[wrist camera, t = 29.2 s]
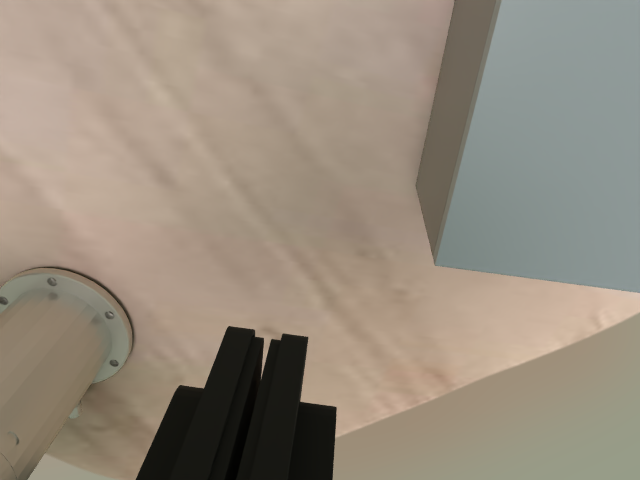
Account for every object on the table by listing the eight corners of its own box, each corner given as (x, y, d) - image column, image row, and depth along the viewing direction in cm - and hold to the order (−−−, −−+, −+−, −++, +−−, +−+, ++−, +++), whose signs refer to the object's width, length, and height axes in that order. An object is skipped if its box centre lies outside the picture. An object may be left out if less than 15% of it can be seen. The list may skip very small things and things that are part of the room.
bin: (586, 208, 39) (660, 286, 29) (415, 185, 39) (432, 256, 30) (678, -29, 32) (817, -29, 22) (466, -56, 32) (512, -67, 22)
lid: (660, 287, 29) (669, 296, 29) (432, 256, 30) (434, 265, 29) (817, -28, 22) (837, -29, 21) (512, -67, 22) (519, -68, 21)
